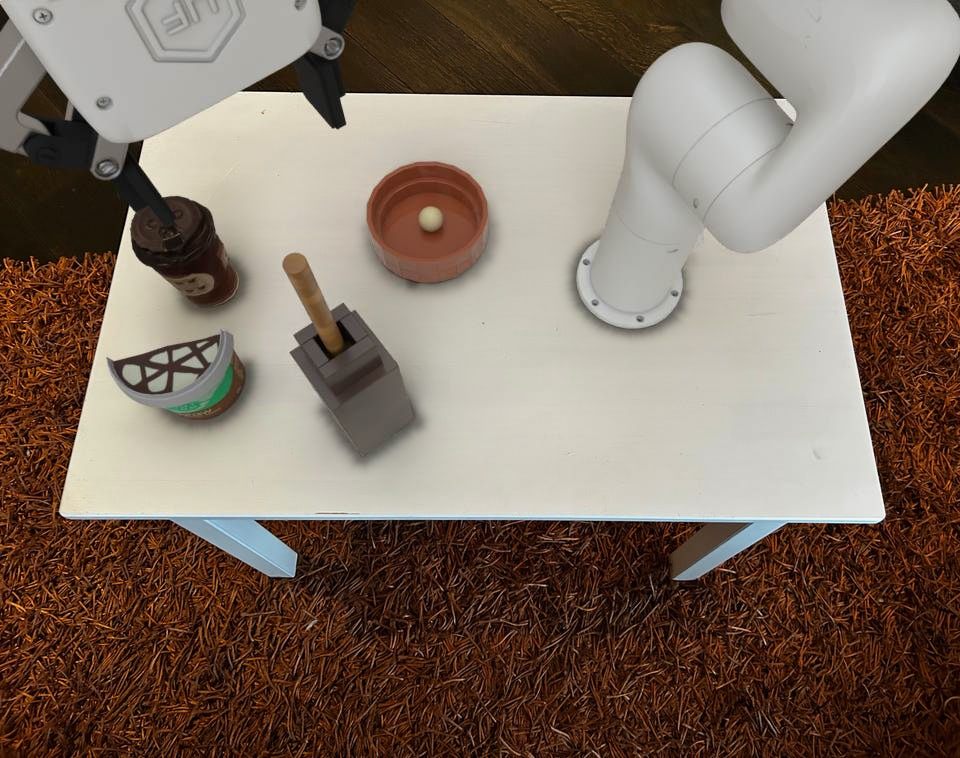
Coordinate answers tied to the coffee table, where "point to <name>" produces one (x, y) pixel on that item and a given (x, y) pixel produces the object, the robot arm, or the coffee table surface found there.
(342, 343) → the stick
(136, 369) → the food container
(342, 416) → the holder
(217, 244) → the coffee cup
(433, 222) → the dough ball
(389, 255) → the bowl
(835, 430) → the coffee table surface
